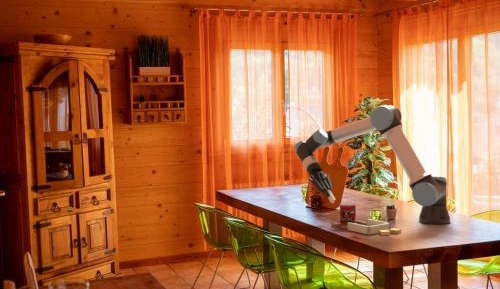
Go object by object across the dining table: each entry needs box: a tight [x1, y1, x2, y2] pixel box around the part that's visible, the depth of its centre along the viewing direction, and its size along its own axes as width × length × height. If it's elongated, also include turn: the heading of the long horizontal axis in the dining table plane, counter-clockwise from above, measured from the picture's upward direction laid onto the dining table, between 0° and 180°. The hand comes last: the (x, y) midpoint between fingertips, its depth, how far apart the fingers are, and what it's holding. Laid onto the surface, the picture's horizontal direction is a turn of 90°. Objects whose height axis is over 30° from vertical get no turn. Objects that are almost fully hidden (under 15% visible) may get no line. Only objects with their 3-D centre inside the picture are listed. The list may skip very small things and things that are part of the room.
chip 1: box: [379, 230, 391, 236], centre depth 279 cm, size 4×4×2 cm
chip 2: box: [389, 227, 402, 235], centre depth 281 cm, size 4×4×2 cm
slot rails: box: [330, 219, 367, 231], centre depth 300 cm, size 12×14×2 cm
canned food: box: [339, 201, 357, 226], centre depth 300 cm, size 8×8×11 cm
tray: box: [347, 218, 392, 235], centre depth 288 cm, size 14×14×4 cm
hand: (333, 201), depth 308 cm, fingers closed
